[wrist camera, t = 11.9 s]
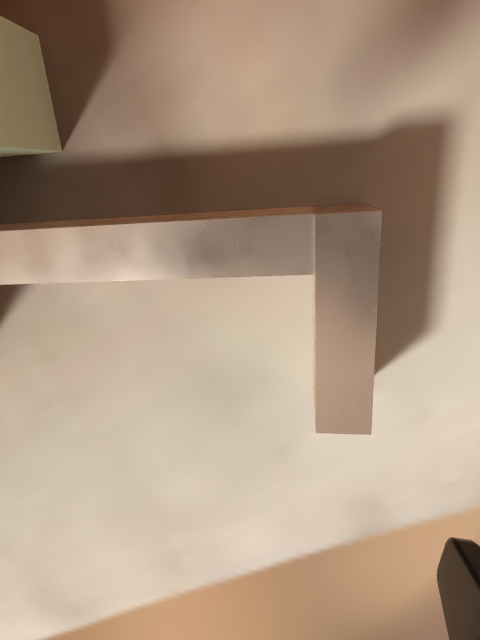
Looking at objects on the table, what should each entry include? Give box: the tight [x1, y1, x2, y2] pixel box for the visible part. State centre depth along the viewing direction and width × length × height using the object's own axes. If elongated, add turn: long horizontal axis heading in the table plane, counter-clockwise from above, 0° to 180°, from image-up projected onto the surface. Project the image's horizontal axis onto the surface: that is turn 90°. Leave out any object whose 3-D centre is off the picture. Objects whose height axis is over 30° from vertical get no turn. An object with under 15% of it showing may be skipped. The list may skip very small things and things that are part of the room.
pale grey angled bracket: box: [0, 203, 383, 435], centre depth 16 cm, size 13×18×4 cm
